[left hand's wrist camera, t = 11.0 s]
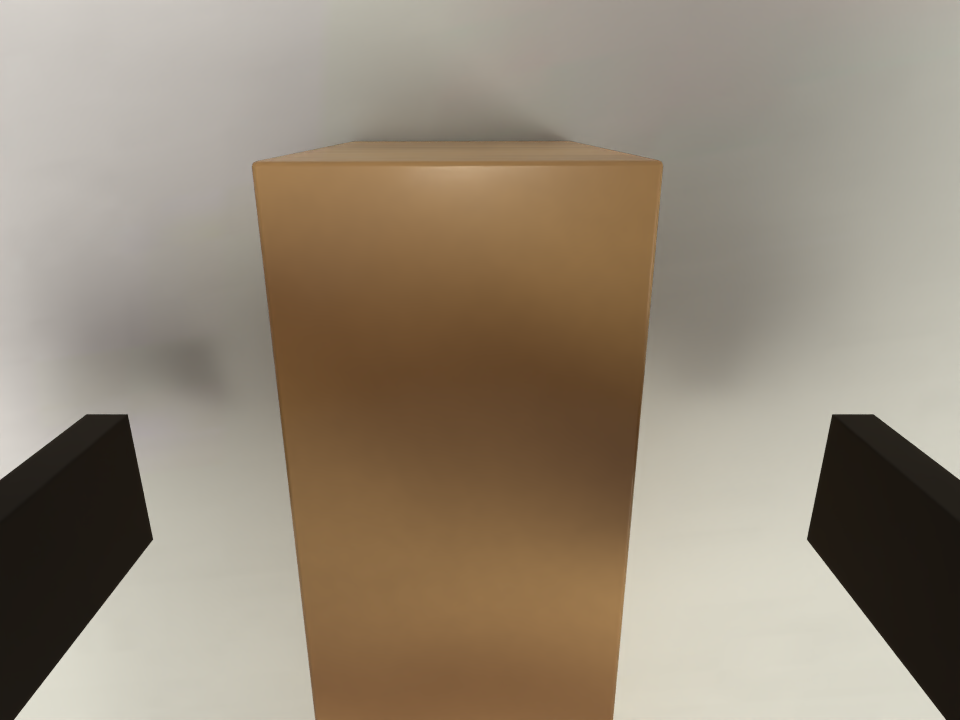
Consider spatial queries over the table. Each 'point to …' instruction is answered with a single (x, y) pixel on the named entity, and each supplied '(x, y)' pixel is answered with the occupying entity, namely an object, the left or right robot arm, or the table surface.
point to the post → (460, 417)
